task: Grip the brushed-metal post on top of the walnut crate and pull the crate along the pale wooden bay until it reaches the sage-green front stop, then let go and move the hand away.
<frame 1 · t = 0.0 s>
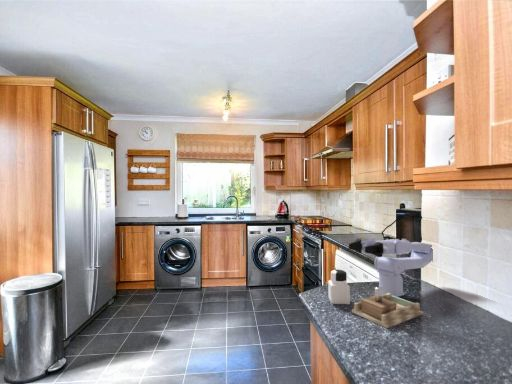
hand: (357, 247, 108), 22 cm above the countertop, tool horizontal, fingers open, 7 cm apart
medicine bottle: (338, 301, 111), on the countertop
bay: (386, 313, 99), on the countertop
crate: (378, 300, 97), point 6 cm above the countertop, slide at 9.0 cm
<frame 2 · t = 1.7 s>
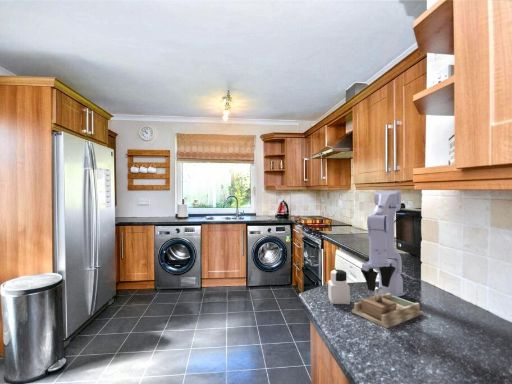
hand: (378, 288, 97), 10 cm above the countertop, tool pointing down, fingers open, 7 cm apart
nothing on the countertop moved.
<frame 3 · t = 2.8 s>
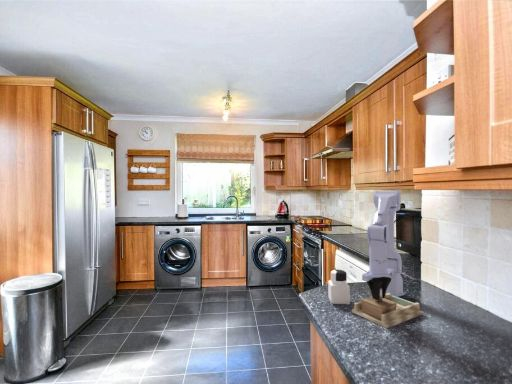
hand: (378, 298, 97), 6 cm above the countertop, tool pointing down, fingers closed on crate, 2 cm apart
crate: (378, 300, 97), point 5 cm above the countertop, slide at 9.0 cm, touching gripper
everything else where it was.
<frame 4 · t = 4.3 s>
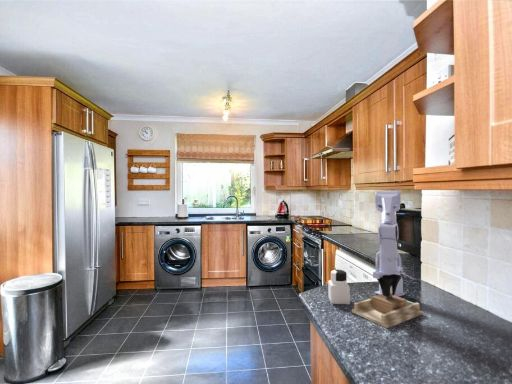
hand: (388, 295, 100), 6 cm above the countertop, tool pointing down, fingers closed on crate, 2 cm apart
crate: (388, 297, 100), point 6 cm above the countertop, slide at 3.3 cm, touching gripper
everything else where it was.
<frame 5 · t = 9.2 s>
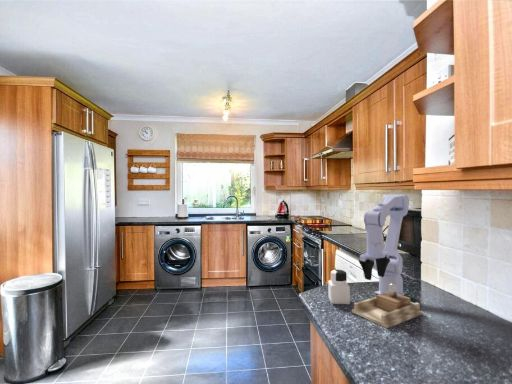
hand: (374, 277, 107), 10 cm above the countertop, tool pointing down, fingers open, 7 cm apart
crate: (393, 295, 101), point 6 cm above the countertop, slide at 0.8 cm
everything else where it was.
at the end: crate slide at 0.8 cm; the gripper is holding nothing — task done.
